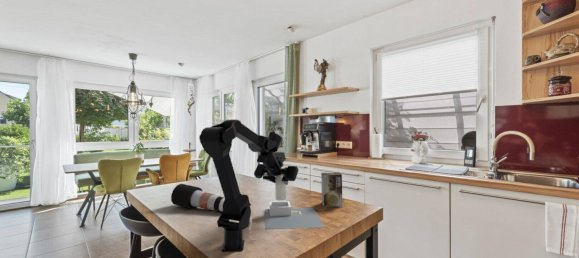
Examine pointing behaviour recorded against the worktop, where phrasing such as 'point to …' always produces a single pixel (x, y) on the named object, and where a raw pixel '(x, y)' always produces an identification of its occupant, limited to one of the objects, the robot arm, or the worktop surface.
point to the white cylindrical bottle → (280, 188)
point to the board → (290, 217)
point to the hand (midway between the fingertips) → (282, 183)
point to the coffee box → (332, 189)
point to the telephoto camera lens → (196, 198)
